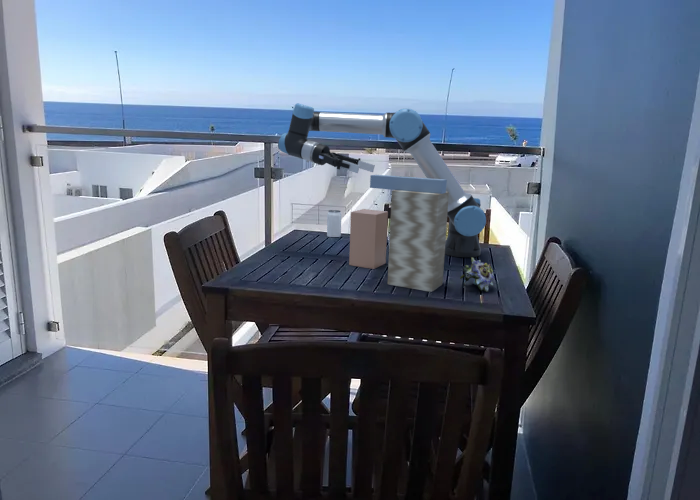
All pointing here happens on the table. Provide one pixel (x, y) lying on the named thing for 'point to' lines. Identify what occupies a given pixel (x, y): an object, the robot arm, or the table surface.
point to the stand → (417, 239)
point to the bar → (408, 183)
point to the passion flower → (479, 274)
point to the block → (368, 238)
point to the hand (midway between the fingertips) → (366, 169)
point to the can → (334, 223)
